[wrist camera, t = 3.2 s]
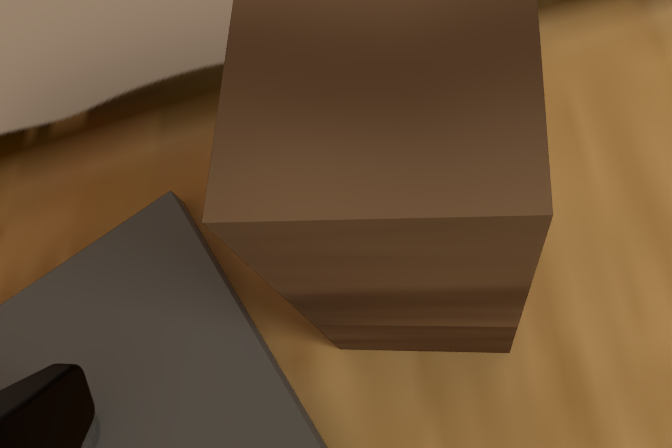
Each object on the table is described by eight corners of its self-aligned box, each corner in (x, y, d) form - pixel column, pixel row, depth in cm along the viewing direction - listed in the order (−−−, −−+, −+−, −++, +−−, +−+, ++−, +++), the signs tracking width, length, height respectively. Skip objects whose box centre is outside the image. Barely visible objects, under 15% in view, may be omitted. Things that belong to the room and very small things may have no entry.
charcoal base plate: (-30, 737, 19) (-55, 750, 18) (-119, 403, 24) (-143, 401, 23) (342, 473, 20) (336, 474, 19) (181, 200, 25) (170, 190, 24)
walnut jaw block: (509, 352, 20) (552, 214, 9) (340, 349, 21) (201, 222, 10) (502, 194, 22) (531, -72, 11) (348, 199, 23) (238, -39, 12)
